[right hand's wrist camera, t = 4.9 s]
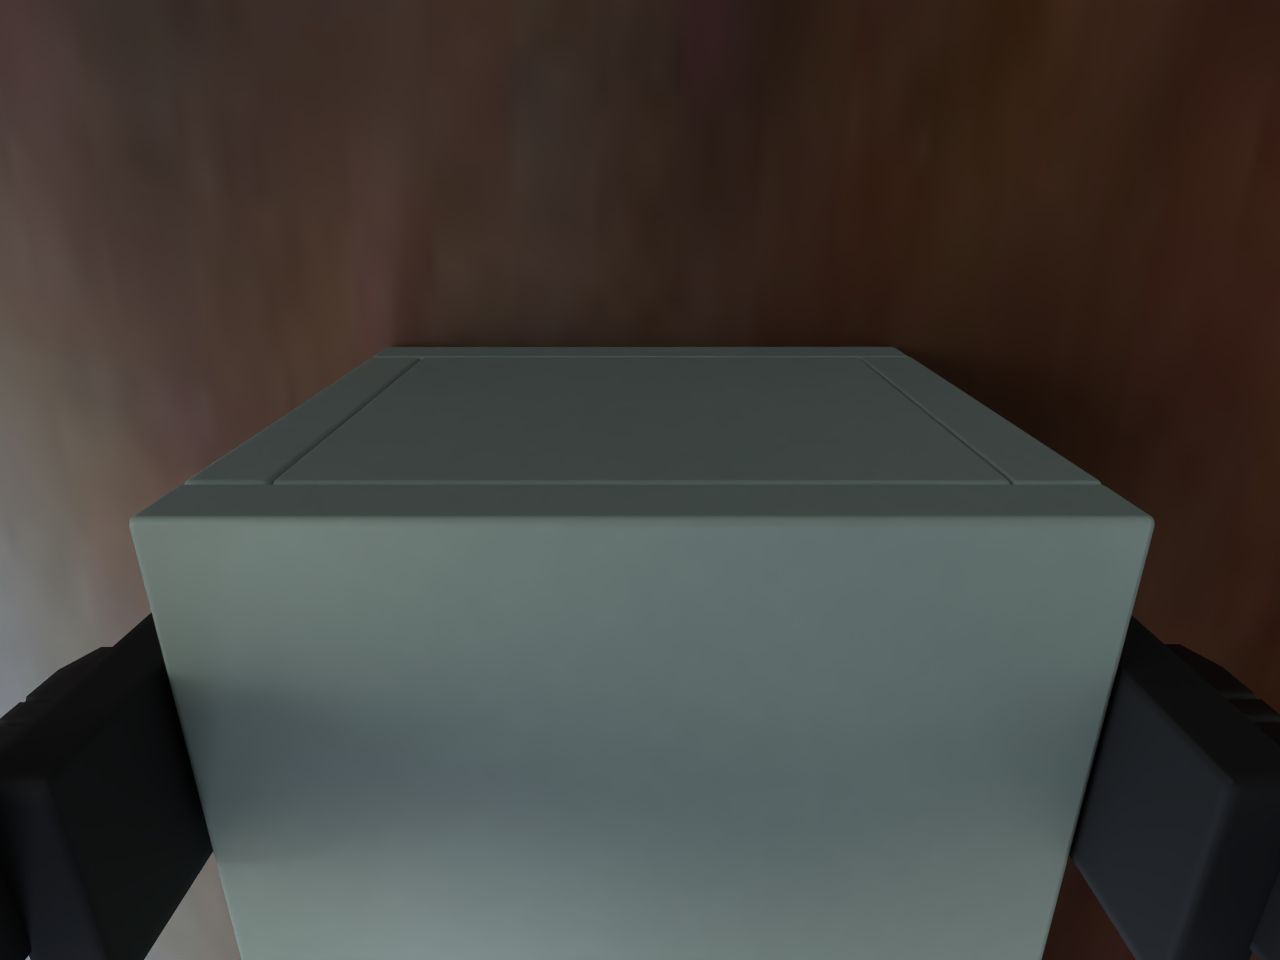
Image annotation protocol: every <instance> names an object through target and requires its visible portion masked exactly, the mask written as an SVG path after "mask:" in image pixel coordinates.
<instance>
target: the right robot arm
mask: <svg viewBox="0 0 1280 960" xmlns="http://www.w3.org/2000/svg"><path fill="white" fill-rule="evenodd" d="M212 852H213V847H212V843H211V840H210V836H209V832H208V828H207V824H206V820H205V816H204V812H203V809H202V805H201V801H200V797H199V793H198V789H197V785H196V782H195V778H194V774H193V770H192V766H191V762H190V758H189V755H188V751H187V747H186V743H185V739H184V735H183V731H182V727H181V724H180V720H179V716H178V712H177V708H176V704H175V700H174V697H173V693H172V689H171V685H170V681H169V677H168V673H167V670H166V666H165V662H164V658H163V654H162V650H161V646H160V643H159V639H158V635H157V631H156V627H155V623H154V619H153V615H152V613H151V614H149V615H148V616H147V617H146V618H145V619H144V620H143V621H141V622H140V623H139V624H138V625H137V626H136V627H135V628H134V629H132V630H131V631H130V632H129V633H128V634H127V635H126V636H124V637H123V638H122V639H121V640H120V641H119V642H118V643H117V644H115V645H114V646H113V647H100V648H99V649H97V650H95V651H93V652H91V653H89V654H87V655H85V656H84V657H82V658H80V659H78V660H76V661H74V662H72V663H70V664H69V665H67V666H65V667H63V668H61V669H59V670H58V671H57V672H55V673H54V674H53V675H52V676H51V677H49V678H48V679H47V680H46V681H45V682H43V683H42V684H41V685H40V686H39V687H37V688H36V689H35V690H34V691H33V692H32V693H30V694H29V695H28V696H27V697H26V702H20V703H18V704H17V705H16V706H15V707H14V708H12V709H11V710H10V711H9V712H8V713H7V714H5V715H4V716H3V717H2V718H1V719H0V960H25V959H26V958H27V957H28V955H29V957H30V959H31V960H144V959H145V957H146V956H147V954H148V952H149V951H150V949H151V948H152V946H153V945H154V943H155V941H156V940H157V938H158V937H159V935H160V934H161V932H162V930H163V929H164V927H165V926H166V924H167V923H168V921H169V919H170V918H171V916H172V915H173V913H174V912H175V910H176V908H177V907H178V905H179V904H180V902H181V901H182V899H183V897H184V896H185V894H186V893H187V891H188V890H189V888H190V886H191V885H192V883H193V882H194V880H195V879H196V877H197V876H198V874H199V872H200V871H201V869H202V868H203V866H204V865H205V863H206V861H207V860H208V858H209V857H210V855H211V854H212ZM1069 855H1070V857H1071V858H1072V860H1073V861H1074V863H1075V865H1076V866H1077V868H1078V869H1079V871H1080V872H1081V874H1082V875H1083V877H1084V879H1085V880H1086V882H1087V883H1088V885H1089V886H1090V888H1091V890H1092V891H1093V893H1094V894H1095V896H1096V897H1097V899H1098V901H1099V902H1100V904H1101V905H1102V907H1103V908H1104V910H1105V912H1106V913H1107V915H1108V916H1109V918H1110V919H1111V921H1112V923H1113V924H1114V926H1115V927H1116V929H1117V930H1118V932H1119V934H1120V935H1121V937H1122V938H1123V940H1124V941H1125V943H1126V945H1127V946H1128V948H1129V949H1130V951H1131V952H1132V954H1133V955H1134V957H1135V959H1136V960H1249V959H1250V957H1251V954H1252V952H1253V953H1254V955H1255V956H1256V957H1257V958H1258V960H1280V715H1279V714H1278V713H1277V712H1276V711H1275V710H1273V709H1272V708H1271V707H1270V706H1269V705H1267V704H1266V703H1265V702H1264V701H1263V700H1261V699H1255V694H1254V693H1253V692H1252V691H1251V690H1249V689H1248V688H1247V687H1246V686H1245V685H1243V684H1242V683H1241V682H1240V681H1239V680H1237V679H1236V678H1235V677H1234V676H1233V675H1231V674H1230V673H1229V672H1228V671H1227V670H1225V669H1224V668H1223V667H1221V666H1219V665H1218V664H1216V663H1214V662H1212V661H1210V660H1208V659H1206V658H1204V657H1202V656H1201V655H1199V654H1197V653H1195V652H1193V651H1191V650H1189V649H1187V648H1185V647H1184V646H1182V645H1180V644H1163V643H1162V642H1161V641H1160V640H1159V639H1158V638H1157V637H1156V636H1154V635H1153V634H1152V633H1151V632H1150V631H1149V630H1148V629H1146V628H1145V627H1144V626H1143V625H1142V624H1141V623H1140V622H1139V621H1137V620H1136V619H1135V618H1134V617H1133V616H1132V615H1131V618H1130V622H1129V626H1128V630H1127V633H1126V637H1125V641H1124V645H1123V649H1122V653H1121V656H1120V660H1119V664H1118V668H1117V672H1116V676H1115V679H1114V683H1113V687H1112V691H1111V695H1110V699H1109V702H1108V706H1107V710H1106V714H1105V718H1104V722H1103V725H1102V729H1101V733H1100V737H1099V741H1098V745H1097V748H1096V752H1095V756H1094V760H1093V764H1092V768H1091V771H1090V775H1089V779H1088V783H1087V787H1086V791H1085V794H1084V798H1083V802H1082V806H1081V810H1080V814H1079V817H1078V821H1077V825H1076V829H1075V833H1074V837H1073V840H1072V844H1071V848H1070V852H1069Z"/></svg>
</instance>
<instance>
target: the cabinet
mask: <svg viewBox="0 0 1280 960" xmlns="http://www.w3.org/2000/svg"><path fill="white" fill-rule="evenodd" d="M1154 526H1155V524H1154V519H1153V517H1151V516H1150V515H1148V514H1147V513H1145V512H1144V511H1142V510H1141V509H1139V508H1138V507H1136V506H1135V505H1133V504H1132V503H1130V502H1129V501H1127V500H1126V499H1124V498H1123V497H1121V496H1120V495H1118V494H1116V493H1115V492H1113V491H1112V490H1110V489H1109V488H1107V487H1106V486H1103V485H1101V482H1100V481H1099V480H1097V479H1096V478H1094V477H1093V476H1091V475H1090V474H1088V473H1087V472H1085V471H1084V470H1082V469H1081V468H1079V467H1078V466H1076V465H1074V464H1073V463H1071V462H1070V461H1068V460H1067V459H1065V458H1064V457H1062V456H1061V455H1059V454H1058V453H1056V452H1055V451H1053V450H1052V449H1050V448H1049V447H1047V446H1045V445H1044V444H1042V443H1041V442H1039V441H1038V440H1036V439H1035V438H1033V437H1032V436H1030V435H1029V434H1027V433H1026V432H1024V431H1023V430H1021V429H1020V428H1018V427H1016V426H1015V425H1013V424H1012V423H1010V422H1009V421H1007V420H1006V419H1004V418H1003V417H1001V416H1000V415H998V414H997V413H995V412H994V411H992V410H991V409H989V408H988V407H986V406H984V405H983V404H981V403H980V402H978V401H977V400H975V399H974V398H972V397H971V396H969V395H968V394H966V393H965V392H963V391H962V390H960V389H959V388H957V387H955V386H954V385H952V384H951V383H949V382H948V381H946V380H945V379H943V378H942V377H940V376H939V375H937V374H936V373H934V372H933V371H931V370H930V369H928V368H926V367H925V366H923V365H922V364H920V363H919V362H917V361H916V360H914V359H913V358H911V357H908V356H907V355H905V354H904V353H902V352H901V351H899V350H898V349H896V348H894V347H388V348H386V349H384V350H383V351H381V352H380V353H378V354H377V355H375V356H374V357H373V358H371V359H369V360H368V361H366V362H365V363H363V364H362V365H360V366H359V367H357V368H356V369H354V370H353V371H351V372H350V373H348V374H346V375H345V376H343V377H342V378H340V379H339V380H337V381H336V382H334V383H333V384H331V385H330V386H328V387H327V388H325V389H324V390H322V391H321V392H319V393H318V394H316V395H315V396H313V397H312V398H310V399H309V400H307V401H306V402H304V403H303V404H301V405H300V406H298V407H297V408H295V409H294V410H292V411H291V412H289V413H288V414H286V415H285V416H283V417H282V418H280V419H279V420H277V421H276V422H274V423H273V424H271V425H270V426H268V427H267V428H265V429H264V430H262V431H261V432H259V433H258V434H256V435H255V436H253V437H252V438H250V439H249V440H247V441H246V442H244V443H243V444H241V445H240V446H238V447H237V448H235V449H234V450H232V451H231V452H229V453H228V454H226V455H225V456H223V457H222V458H220V459H219V460H217V461H216V462H214V463H213V464H211V465H210V466H208V467H207V468H205V469H203V470H202V471H200V472H199V473H197V474H196V475H194V476H193V477H191V478H190V479H188V480H187V481H186V482H185V485H180V486H178V487H176V488H175V489H173V490H172V491H170V492H169V493H167V494H166V495H164V496H163V497H161V498H160V499H158V500H157V501H155V502H154V503H152V504H151V505H149V506H148V507H146V508H145V509H143V510H142V511H140V512H139V513H137V514H136V515H134V516H133V517H131V519H130V523H129V527H130V530H131V534H132V538H133V542H134V546H135V550H136V554H137V558H138V561H139V565H140V569H141V573H142V577H143V581H144V585H145V588H146V592H147V596H148V600H149V604H150V608H151V612H152V615H153V619H154V623H155V627H156V631H157V635H158V639H159V643H160V646H161V650H162V654H163V658H164V662H165V666H166V670H167V673H168V677H169V681H170V685H171V689H172V693H173V697H174V700H175V704H176V708H177V712H178V716H179V720H180V724H181V727H182V731H183V735H184V739H185V743H186V747H187V751H188V755H189V758H190V762H191V766H192V770H193V774H194V778H195V782H196V785H197V789H198V793H199V797H200V801H201V805H202V809H203V812H204V816H205V820H206V824H207V828H208V832H209V836H210V840H211V843H212V847H213V851H214V855H215V859H216V863H217V867H218V870H219V874H220V878H221V882H222V886H223V890H224V894H225V897H226V901H227V905H228V909H229V913H230V917H231V921H232V925H233V928H234V932H235V936H236V940H237V944H238V948H239V952H240V955H241V959H242V960H1041V959H1042V955H1043V952H1044V948H1045V944H1046V940H1047V936H1048V932H1049V929H1050V925H1051V921H1052V917H1053V913H1054V909H1055V906H1056V902H1057V898H1058V894H1059V890H1060V886H1061V883H1062V879H1063V875H1064V871H1065V867H1066V863H1067V860H1068V856H1069V852H1070V848H1071V844H1072V840H1073V837H1074V833H1075V829H1076V825H1077V821H1078V817H1079V814H1080V810H1081V806H1082V802H1083V798H1084V794H1085V791H1086V787H1087V783H1088V779H1089V775H1090V771H1091V768H1092V764H1093V760H1094V756H1095V752H1096V748H1097V745H1098V741H1099V737H1100V733H1101V729H1102V725H1103V722H1104V718H1105V714H1106V710H1107V706H1108V702H1109V699H1110V695H1111V691H1112V687H1113V683H1114V679H1115V676H1116V672H1117V668H1118V664H1119V660H1120V656H1121V653H1122V649H1123V645H1124V641H1125V637H1126V633H1127V630H1128V626H1129V622H1130V618H1131V614H1132V610H1133V607H1134V603H1135V599H1136V595H1137V591H1138V587H1139V584H1140V580H1141V576H1142V572H1143V568H1144V564H1145V561H1146V557H1147V553H1148V549H1149V545H1150V541H1151V538H1152V534H1153V530H1154Z"/></svg>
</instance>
